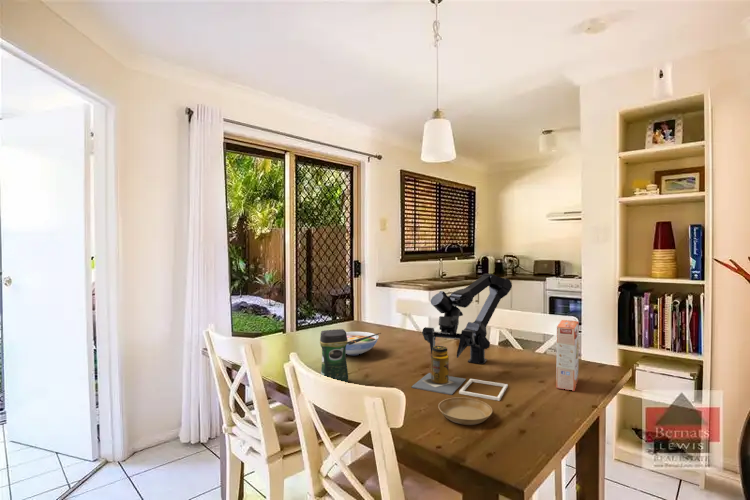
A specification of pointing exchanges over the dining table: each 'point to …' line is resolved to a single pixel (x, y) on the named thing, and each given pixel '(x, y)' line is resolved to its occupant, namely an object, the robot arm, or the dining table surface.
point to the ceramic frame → (482, 394)
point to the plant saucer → (465, 410)
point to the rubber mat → (441, 389)
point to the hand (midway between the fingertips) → (444, 355)
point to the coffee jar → (334, 354)
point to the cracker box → (567, 354)
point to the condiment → (439, 367)
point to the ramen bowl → (360, 342)
